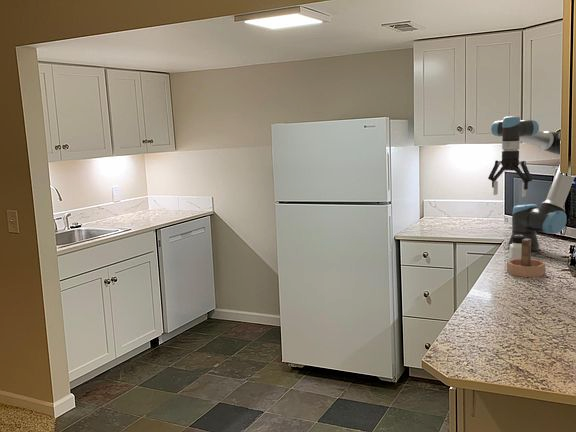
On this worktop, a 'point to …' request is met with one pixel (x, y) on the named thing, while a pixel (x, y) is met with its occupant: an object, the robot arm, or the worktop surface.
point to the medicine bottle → (516, 247)
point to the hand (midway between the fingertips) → (509, 195)
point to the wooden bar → (526, 252)
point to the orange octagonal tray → (526, 268)
